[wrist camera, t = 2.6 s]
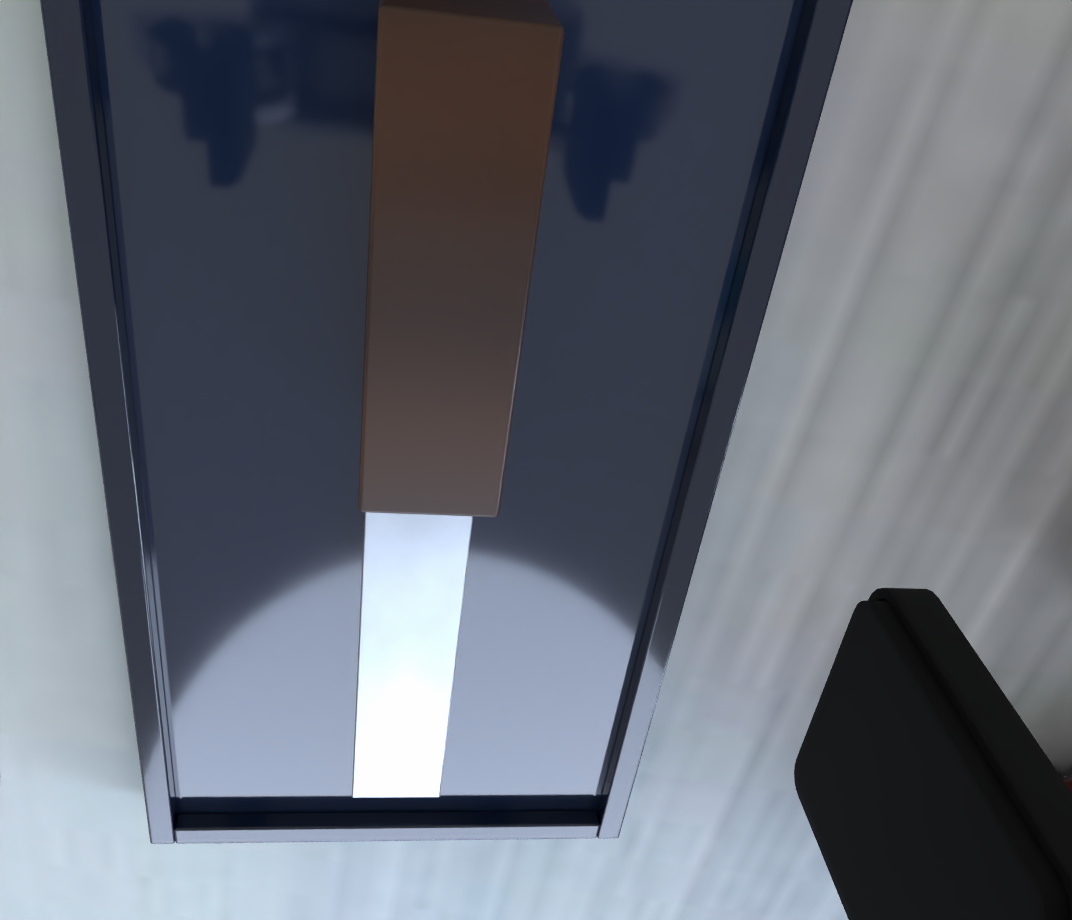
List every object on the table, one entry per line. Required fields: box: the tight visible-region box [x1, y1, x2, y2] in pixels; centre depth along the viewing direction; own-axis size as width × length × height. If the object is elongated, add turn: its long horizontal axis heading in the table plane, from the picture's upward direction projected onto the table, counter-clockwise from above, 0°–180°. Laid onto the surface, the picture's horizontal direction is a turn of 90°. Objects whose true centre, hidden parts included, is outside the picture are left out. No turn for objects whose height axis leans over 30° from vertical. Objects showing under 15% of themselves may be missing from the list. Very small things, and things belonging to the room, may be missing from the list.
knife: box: [352, 0, 565, 798], centre depth 19 cm, size 19×2×3 cm, turn 172°
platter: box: [40, 0, 853, 844], centre depth 21 cm, size 22×12×1 cm, turn 172°
